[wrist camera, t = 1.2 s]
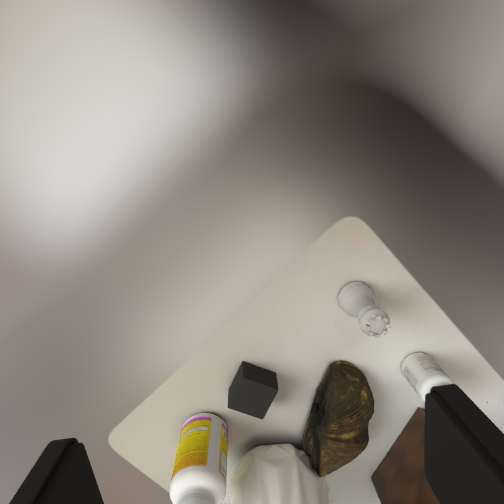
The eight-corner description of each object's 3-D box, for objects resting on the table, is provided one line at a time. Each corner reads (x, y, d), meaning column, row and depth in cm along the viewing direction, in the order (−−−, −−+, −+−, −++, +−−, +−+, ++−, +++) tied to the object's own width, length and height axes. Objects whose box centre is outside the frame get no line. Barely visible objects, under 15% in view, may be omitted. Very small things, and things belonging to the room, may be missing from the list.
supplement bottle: (172, 433, 49) (150, 527, 37) (200, 402, 48) (185, 489, 35) (210, 455, 50) (200, 553, 38) (237, 425, 49) (236, 517, 37)
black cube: (242, 360, 46) (242, 377, 43) (276, 372, 47) (278, 389, 43) (228, 389, 47) (227, 408, 44) (261, 401, 48) (262, 419, 45)
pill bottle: (414, 384, 48) (446, 426, 40) (393, 367, 47) (422, 407, 40) (438, 363, 47) (475, 402, 40) (417, 345, 46) (451, 382, 39)
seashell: (313, 357, 46) (339, 392, 39) (370, 358, 48) (403, 391, 42) (287, 455, 50) (307, 501, 43) (341, 450, 52) (366, 493, 46)
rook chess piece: (359, 273, 43) (384, 299, 35) (378, 298, 44) (407, 329, 36) (330, 294, 44) (349, 324, 36) (349, 318, 45) (372, 353, 37)
